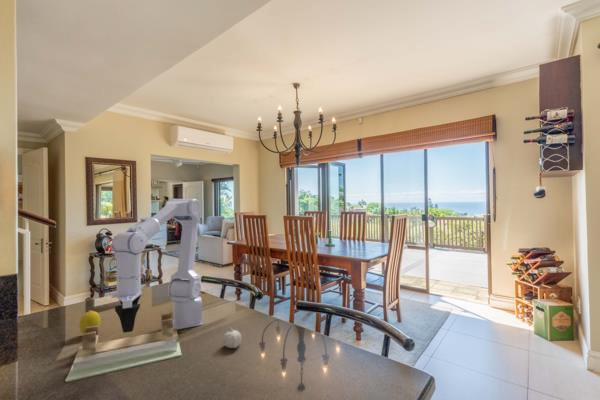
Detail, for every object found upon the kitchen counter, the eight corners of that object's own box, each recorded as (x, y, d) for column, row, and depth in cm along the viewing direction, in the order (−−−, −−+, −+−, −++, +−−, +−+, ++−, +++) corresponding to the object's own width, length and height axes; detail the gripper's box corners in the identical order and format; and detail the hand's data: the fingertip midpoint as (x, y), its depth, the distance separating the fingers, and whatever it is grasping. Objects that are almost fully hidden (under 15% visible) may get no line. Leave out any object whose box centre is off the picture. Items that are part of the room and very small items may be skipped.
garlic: (221, 343, 90) (221, 326, 90) (239, 340, 92) (239, 323, 92) (223, 352, 84) (223, 334, 84) (242, 349, 86) (242, 331, 86)
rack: (176, 331, 98) (176, 312, 98) (178, 339, 92) (178, 318, 92) (79, 349, 86) (79, 328, 86) (75, 359, 80) (75, 336, 80)
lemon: (89, 340, 92) (89, 314, 92) (74, 338, 93) (74, 313, 93) (104, 332, 97) (104, 307, 97) (90, 330, 98) (90, 306, 98)
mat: (178, 343, 90) (178, 342, 90) (181, 355, 83) (181, 354, 83) (72, 365, 78) (72, 364, 78) (65, 382, 71) (65, 380, 71)
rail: (176, 346, 87) (176, 337, 87) (176, 350, 84) (176, 341, 84) (75, 368, 76) (75, 358, 76) (73, 373, 73) (73, 363, 73)
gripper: (114, 271, 85) (114, 318, 85) (108, 285, 72) (108, 340, 72) (142, 269, 88) (142, 314, 88) (141, 281, 75) (141, 334, 75)
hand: (128, 325), depth 80 cm, fingers open, 7 cm apart
